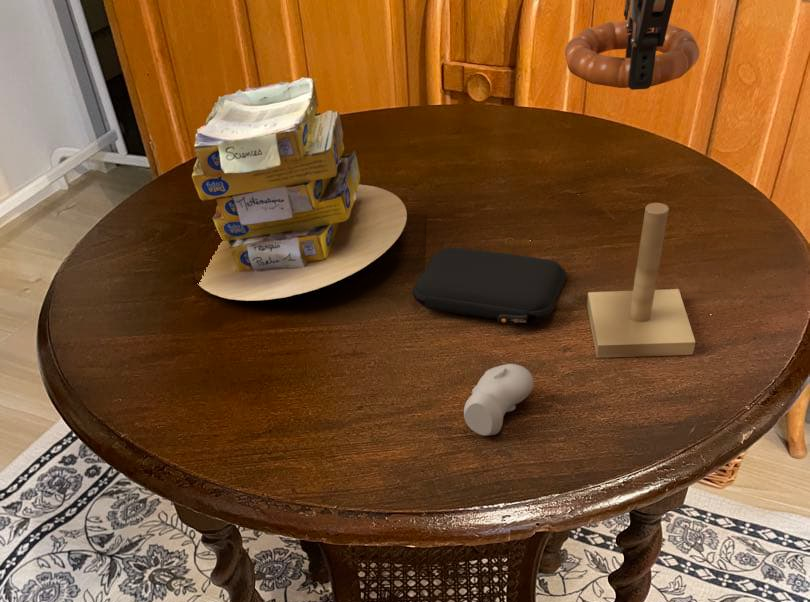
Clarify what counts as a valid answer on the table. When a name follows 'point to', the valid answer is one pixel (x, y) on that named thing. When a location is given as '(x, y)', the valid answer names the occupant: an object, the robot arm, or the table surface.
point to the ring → (615, 70)
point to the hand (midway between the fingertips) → (636, 80)
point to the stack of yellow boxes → (286, 196)
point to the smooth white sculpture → (496, 397)
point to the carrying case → (491, 285)
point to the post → (642, 305)
